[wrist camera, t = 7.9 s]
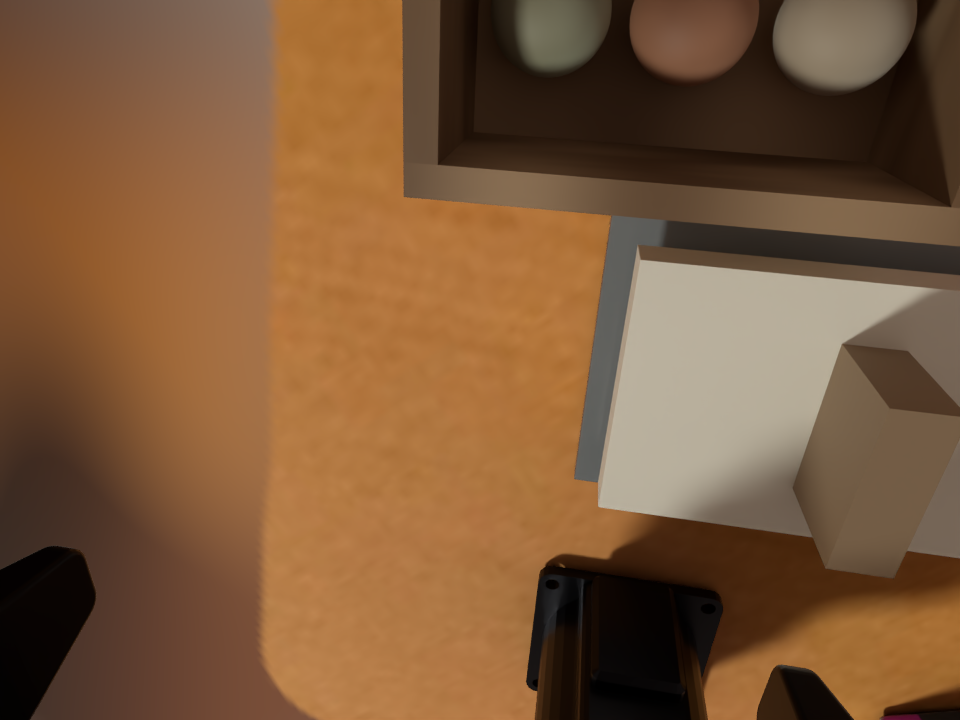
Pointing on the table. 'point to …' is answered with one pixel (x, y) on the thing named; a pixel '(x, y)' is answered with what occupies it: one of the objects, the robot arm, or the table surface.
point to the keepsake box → (691, 111)
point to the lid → (791, 403)
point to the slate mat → (724, 240)
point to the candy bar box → (926, 716)
